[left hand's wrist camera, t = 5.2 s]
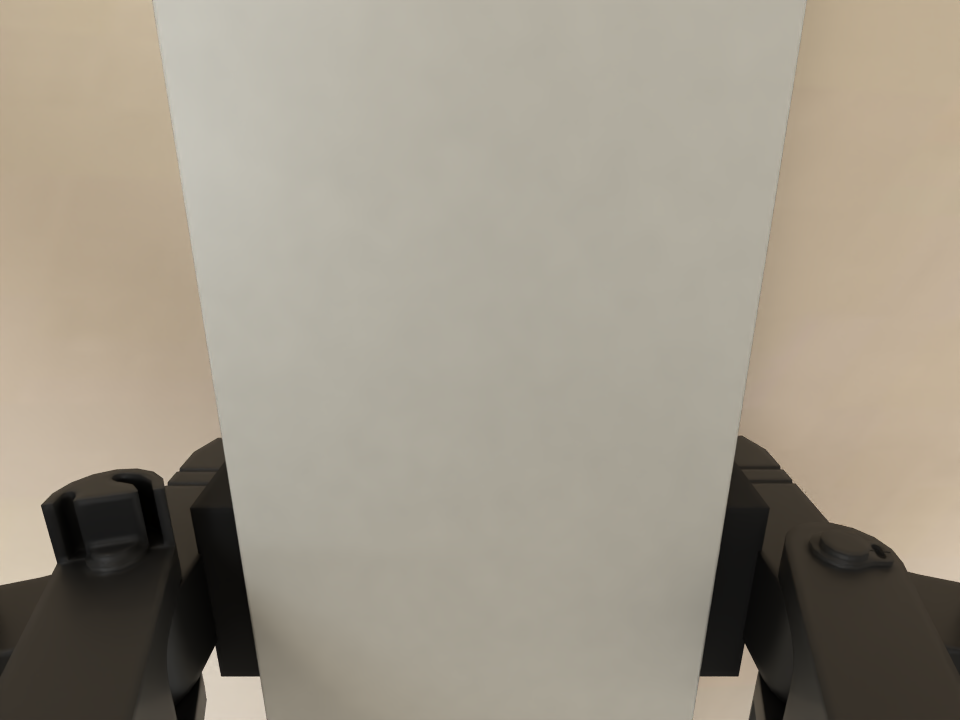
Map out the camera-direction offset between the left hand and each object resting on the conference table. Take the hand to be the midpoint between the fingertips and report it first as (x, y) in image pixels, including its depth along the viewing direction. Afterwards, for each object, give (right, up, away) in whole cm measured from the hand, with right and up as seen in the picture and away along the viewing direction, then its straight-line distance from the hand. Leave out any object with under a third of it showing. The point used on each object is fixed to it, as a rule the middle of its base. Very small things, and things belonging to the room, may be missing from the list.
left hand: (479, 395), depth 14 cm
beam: (0, +28, -10) cm, 29 cm away
